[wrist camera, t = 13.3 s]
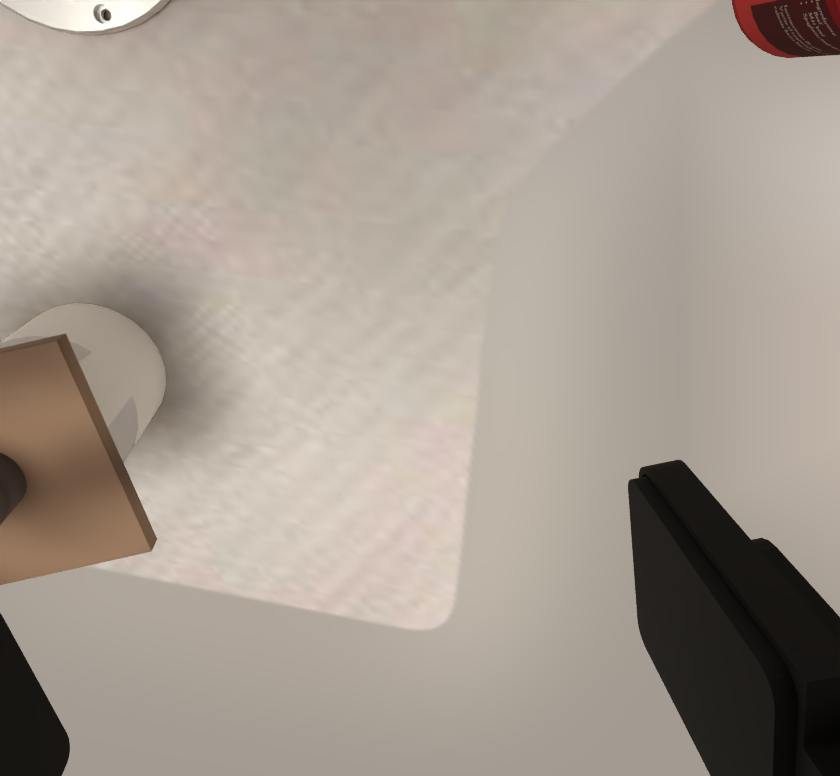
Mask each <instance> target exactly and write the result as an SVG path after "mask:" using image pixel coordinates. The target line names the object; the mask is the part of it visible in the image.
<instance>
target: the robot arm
mask: <svg viewBox="0 0 840 776" xmlns="http://www.w3.org/2000/svg"><path fill="white" fill-rule="evenodd" d="M169 1H170V0H0V4H2V5H3V6H4V7H6V8H8V9H9V10H11V11H13V12H15V13H16V14H18V15H20V16H22V17H23V18H25V19H27V20H29V21H31V22H34V23H37V24H40V25H42V26H45V27H48V28H51V29H53V30H58V31H63V32H68V33H73V34H89V35H100V34H107V33H114V32H120V31H123V30H125V29H128V28H130V27H133V26H136V25H138V24H141V23H143V22H144V21H145V20H147V19H148V18H150V17H151V16H153V15H154V14H156V13H157V12H159V11H160V10H161V9H162V8H163V7H164V6H165V5H166V4H167V3H168V2H169ZM106 10H109V11H110V12H111V14H112V18H111V20H109V21H107V20H105V18H104V12H105V11H106ZM628 492H629V505H630V521H631V535H632V548H633V562H634V576H635V590H636V604H637V617H638V625H639V630H640V634H641V637H642V640H643V643H644V645H645V647H646V649H647V651H648V653H649V655H650V657H651V659H652V661H653V663H654V665H655V667H656V669H657V671H658V673H659V675H660V677H661V679H662V681H663V683H664V685H665V687H666V689H667V691H668V693H669V694H670V697H671V699H672V700H673V703H674V704H675V706H676V708H677V710H678V712H679V714H680V716H681V718H682V720H683V722H684V724H685V726H686V728H687V730H688V732H689V734H690V736H691V738H692V740H693V742H694V744H695V746H696V748H697V750H698V752H699V754H700V756H701V758H702V760H703V762H704V763H705V766H706V768H707V770H708V771H709V773H710V775H711V776H840V617H839V616H838V615H837V614H836V613H835V612H834V610H833V609H832V608H831V607H830V606H829V605H828V604H827V603H826V601H825V600H824V599H823V598H822V597H821V596H820V595H819V594H818V593H817V591H816V590H815V589H814V588H813V587H812V586H811V585H810V584H809V583H808V582H807V580H806V579H805V578H804V577H803V576H802V575H801V574H800V573H799V572H798V570H797V569H796V568H795V567H794V566H793V565H792V564H791V563H790V562H789V561H788V560H787V558H786V557H785V556H784V555H783V554H782V553H781V552H780V551H779V550H778V548H777V547H776V546H774V545H773V544H772V543H771V542H770V541H769V540H766V539H763V538H759V539H754V540H751V539H750V538H749V537H748V536H747V535H746V534H745V532H744V531H743V530H742V529H741V528H740V527H739V525H737V523H736V522H735V521H734V520H733V519H732V517H731V516H730V515H729V514H728V513H727V512H726V510H725V509H724V508H723V507H722V506H721V505H720V503H719V502H718V501H717V500H716V499H715V498H714V497H713V496H712V494H711V493H710V492H709V491H708V489H707V488H706V487H705V486H704V485H703V484H702V483H701V481H700V480H699V479H698V478H697V477H696V476H695V474H694V473H693V472H692V471H691V470H690V469H689V468H688V467H687V465H686V464H685V463H684V462H683V461H681V460H675V461H670V462H665V463H660V464H655V465H651V466H645V467H642V468H641V469H640V472H639V478H636V479H631V480H630V481H629V483H628ZM69 752H70V744H69V738H68V735H67V733H66V731H65V729H64V727H63V726H62V724H61V722H60V720H59V718H58V717H57V715H56V713H55V711H54V709H53V707H52V706H51V704H50V702H49V700H48V698H47V696H46V695H45V693H44V691H43V689H42V687H41V686H40V684H39V682H38V680H37V678H36V677H35V675H34V673H33V671H32V669H31V667H30V666H29V664H28V662H27V660H26V658H25V657H24V655H23V653H22V651H21V649H20V647H19V646H18V644H17V642H16V640H15V639H14V637H13V635H12V633H11V631H10V629H9V627H8V626H7V624H6V622H5V620H4V618H3V617H2V615H1V614H0V776H61V775H62V773H63V771H64V768H65V766H66V764H67V761H68V758H69Z"/></svg>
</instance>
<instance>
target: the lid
mask: <svg viewBox="0 0 840 776" xmlns="http://www.w3.org/2000/svg"><path fill="white" fill-rule="evenodd" d="M156 540H157V538H156V536H155V533H154V531H153V529H152V527H151V524H150V522H149V520H148V518H147V515H146V513H145V511H144V509H143V506H142V504H141V502H140V500H139V497H138V495H137V493H136V491H135V488H134V486H133V484H132V482H131V479H130V477H129V475H128V473H127V470H126V468H125V466H124V464H123V461H122V459H121V457H120V454H119V452H118V450H117V448H116V445H115V443H114V441H113V439H112V436H111V434H110V432H109V430H108V427H107V425H106V423H105V421H104V418H103V416H102V414H101V412H100V409H99V407H98V405H97V403H96V400H95V398H94V396H93V394H92V391H91V389H90V387H89V385H88V382H87V380H86V378H85V376H84V373H83V371H82V369H81V367H80V364H79V362H78V360H77V358H76V355H75V353H74V351H73V349H72V346H71V344H70V342H69V340H68V337H67V335H66V333H65V334H61V335H57V336H52V337H48V338H43V339H39V340H35V341H30V342H26V343H21V344H17V345H13V346H8V347H4V348H0V585H3V584H7V583H11V582H16V581H21V580H25V579H30V578H34V577H38V576H43V575H48V574H52V573H57V572H61V571H66V570H70V569H74V568H79V567H84V566H88V565H93V564H97V563H102V562H106V561H111V560H115V559H120V558H124V557H128V556H133V555H137V554H142V553H146V552H151V551H152V549H153V547H154V545H155V542H156Z"/></svg>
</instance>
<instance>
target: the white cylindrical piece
mask: <svg viewBox="0 0 840 776" xmlns="http://www.w3.org/2000/svg"><path fill="white" fill-rule="evenodd" d="M65 333H66V335H67V337H68V340H69V342H70V344H71V346H72V349H73V351H74V353H75V355H76V358H77V360H78V362H79V364H80V367H81V369H82V371H83V373H84V376H85V378H86V380H87V382H88V385H89V387H90V389H91V391H92V394H93V396H94V398H95V400H96V403H97V405H98V407H99V409H100V412H101V414H102V416H103V418H104V421H105V423H106V425H107V427H108V430H109V432H110V434H111V436H112V439H113V441H114V443H115V445H116V448H117V450H118V452H119V454H120V457H121V459H122V461H123V462H124V461H125V460H126V458H127V457H128V455H129V454H130V452H131V450H132V449H133V447H134V446H135V444H136V443H137V441H138V439H139V438H140V436H141V435H142V433H143V431H144V430H145V428H146V427H147V425H148V424H149V422H150V420H151V419H152V417H153V416H154V414H155V412H156V411H157V409H158V408H159V406H160V404H161V403H162V400H163V396H164V392H165V388H166V374H165V366H164V363H163V361H162V358H161V355H160V352H159V350H158V348H157V347H156V346H155V344H154V343H153V341H152V340H151V338H150V337H149V335H148V334H147V333H146V332H145V331H144V330H143V329H141V328H140V327H139V326H138V325H137V324H136V323H135V322H134V321H133V320H131V319H129V318H127V317H125V316H124V315H122V314H120V313H118V312H117V311H115V310H112V309H108V308H105V307H102V306H98V305H95V304H80V303H72V304H67V305H62V306H57V307H53V308H51V309H49V310H47V311H45V312H43V313H41V314H39V315H38V316H36V317H35V318H33V319H32V320H30V321H29V322H28V323H26V324H25V325H23V326H22V327H21V328H19V329H18V330H16V331H15V332H13V333H12V334H11V335H9V336H8V337H6V338H5V339H3V340H2V341H1V342H0V348H4V347H8V346H13V345H17V344H21V343H26V342H30V341H35V340H39V339H43V338H48V337H52V336H57V335H61V334H65Z"/></svg>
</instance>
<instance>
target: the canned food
mask: <svg viewBox="0 0 840 776" xmlns="http://www.w3.org/2000/svg"><path fill="white" fill-rule="evenodd" d="M732 5H733V9H734V13H735V17H736V19H737V22H738V24H739V26H740V28H741V30H742V31H743V33H744V34H745V35H746V37H747V38H748V39H749V40H750V41H751V42H753V43H754V44H755V45H756V46H757V47H759V48H760V49H762V50H763V51H765V52H767V53H770V54H772V55H774V56H779V57H785V58H793V57H808V56H826V55H840V0H732Z"/></svg>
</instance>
